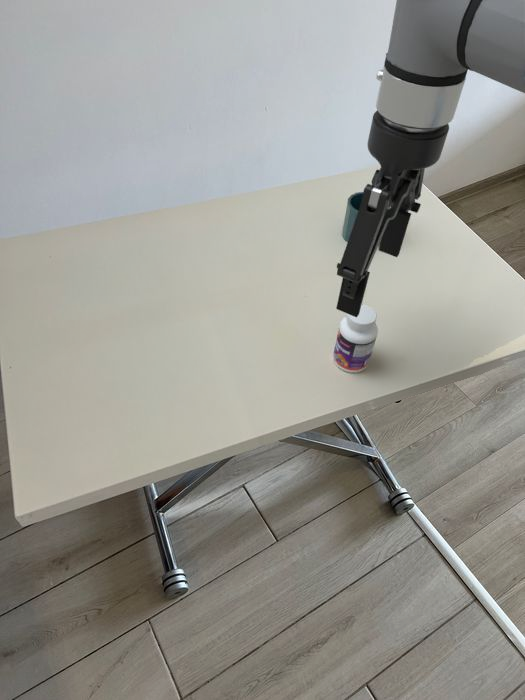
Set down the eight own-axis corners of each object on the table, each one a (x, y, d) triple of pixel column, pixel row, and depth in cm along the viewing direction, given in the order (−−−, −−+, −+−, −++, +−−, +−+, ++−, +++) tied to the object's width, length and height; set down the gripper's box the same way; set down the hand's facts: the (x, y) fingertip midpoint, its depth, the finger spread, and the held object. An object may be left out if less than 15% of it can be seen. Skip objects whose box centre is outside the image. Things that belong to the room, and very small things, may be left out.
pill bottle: (327, 350, 80) (336, 303, 73) (359, 343, 82) (371, 296, 75) (341, 377, 77) (352, 331, 70) (374, 369, 78) (389, 323, 71)
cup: (387, 232, 102) (396, 200, 96) (372, 252, 97) (380, 220, 92) (351, 219, 104) (357, 187, 99) (335, 238, 100) (340, 206, 94)
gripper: (418, 66, 61) (378, 222, 76) (322, 157, 46) (298, 327, 62) (483, 83, 58) (428, 240, 74) (404, 184, 44) (357, 353, 59)
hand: (369, 280), depth 68 cm, fingers open, 13 cm apart
